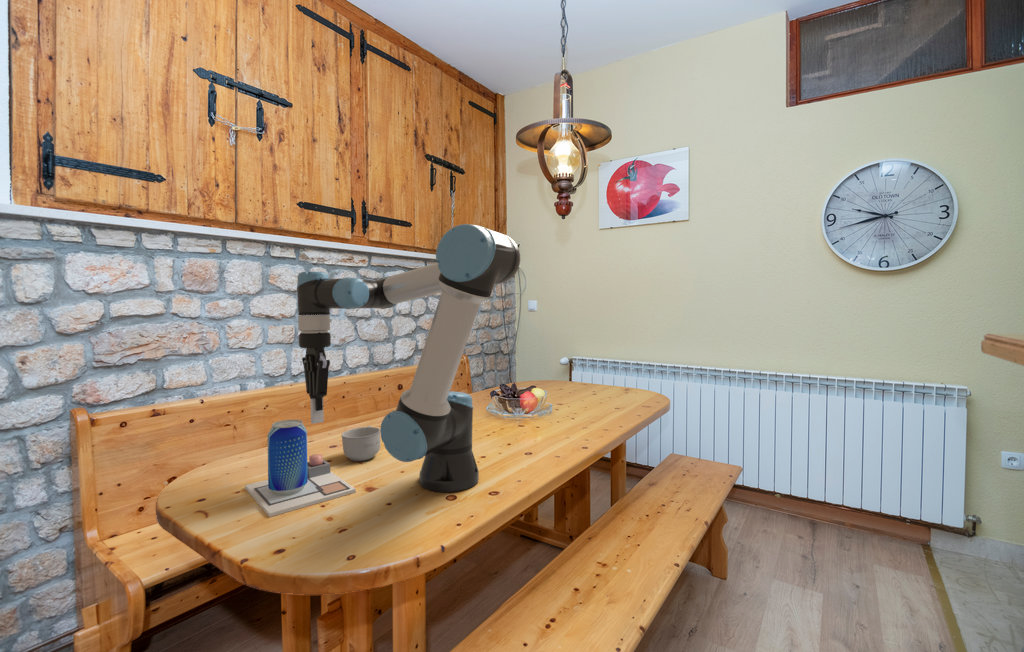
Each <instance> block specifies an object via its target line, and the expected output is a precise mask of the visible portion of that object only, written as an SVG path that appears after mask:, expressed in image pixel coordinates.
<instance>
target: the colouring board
mask: <svg viewBox="0 0 1024 652" xmlns="http://www.w3.org/2000/svg"><path fill="white" fill-rule="evenodd" d="M307 472H308V482H307V484H306V485H305V486H304V488H303V489H302V490H301V491H299V492H297V493H294V494H290V495H275V494H273V493H272V491H271V490H270V489H269V488H268V479H266V480H265V479H264V480H261V481H256V482H252V483H249V484H245V485H244V489H245V490H246V492H247V493H248V494H249V495H250V497H252V498H253V500H255V502H256V503H257V504H258V506H259V507H260V508H261V509H262V510H263V511H264V512H265V514H266V515H267V516H268V518H271V517H275V516H278V515H281V514H285V513H289V512H292V511H295V510H298V509H302V508H303V509H304V508H306V507H310V506H313V505H317V504H319V503H323V502H327V501H330V500H333V499H334V500H335V499H337V498H340V497H341V498H342V497H344V496H347V495H351V494H355V493H356V492H357V489H356V488H355V487H354V486H352V485H351V484H349V482H346V481H345V480H344V479H343V478H341V477H339V476H338V475H337V474H335V473H334V472H333V471H331V463H330V462H328V461H327V460H326V459H324V458H323V465H319V466H315V467H310V466H309V461H307Z"/></svg>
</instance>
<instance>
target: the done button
mask: <svg viewBox="0 0 1024 652" xmlns="http://www.w3.org/2000/svg"><path fill="white" fill-rule="evenodd" d="M308 459H309V460H308V462H309V466H310V467H315V466H319V465H323V459H324V457H323V454H321V453H317V454H316V453H315V454H311V455H309V457H308Z"/></svg>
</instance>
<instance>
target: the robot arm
mask: <svg viewBox="0 0 1024 652" xmlns="http://www.w3.org/2000/svg"><path fill="white" fill-rule="evenodd" d="M435 252H436V253H435V261H436V262H434V263H432V264H428V265H425V266H421V267H418V268H415V269H412V270H408V271H405V272H401V273H397V274H394V275H391V276H388V277H384V278H381V279H376V280H375V279H373V280H372V279H371V280H369V279H361V278H358V277H349V276H347V277H343V278H342V277H341V278H330V277H329V273H327V272H325V271H301V272H299V273H298V274H297V281H296V282H297V283H296V292H297V313H298V315H297V324H298V325H297V327H298V328H297V329H298V332H300V333H299V334H298V346H299V348H301V349H306V350H305V355H304V357H302V358H301V361H302V365H303V371H304V380H305V381H304V382H305V389H306V395H307V394H308V396H309V398H310V399H309V400H310V404H309V405H310V423H311V424H312V425H315V424H319V423H324V422H325V419H324V417H325V416H324V398H325V397H326V396H327V395H328V383H329V381H328V380H329V368H330V365H331V361H330V359H327V356H326V352H325V348H328V347H330V346H331V344H332V343H331V339H332V337H331V333H330V332H329V331H330V330H331V322H332V319H331V312H330V311H331V309H339V310H340V309H346V310H350V309H351V310H356V309H380V310H381V309H382V310H386V309H391V308H394V307H396V306H397V305H398V304H401V303H405V302H409V301H413V300H416V299H417V300H418V299H421V298H424V297H429V296H433V295H436V294H437V295H438V294H440V297H439V298H438V302H437V306H436V308H435V311H434V315H433V318H432V322H431V324H430V328H429V330H428V334H427V337H426V339H425V342H424V346H423V349H422V352H421V355H420V358H419V361H418V364H417V367H416V371H415V373H414V376H413V378H412V383H411V385H410V388H408V389H406V390H403V392H402V393H401V394H400V397H399V400H398V404H397V406H396V409H395V410H392V411H390V412H389V413H387V414H386V415H385V416H384V417H383V419H382V421H381V424H380V428H379V429H380V440H381V441H382V443H383V445H384V448H385V450H386V451H387V452H388V454H389V455H390V456H392V457H393V458H394V459H396V460H397V461H400V462H404V463H409V462H410V463H411V462H414V461H417V460H421V459H423V458H424V459H423V461H422V466H421V468H420V471H419V484H420V486H421V487H423V488H424V489H426V490H428V491H432V492H433V491H434V492H440V493H453V492H459V491H464V490H467V489H470V488H472V487H474V486H475V485H477V483H478V482H479V479H480V478H479V468H478V464H477V462H476V459H475V455H474V451H473V413H474V411H473V410H474V406H473V397H472V395H470V394H469V393H466V392H461V391H460V392H459V391H451V389H452V386H453V383H454V382H455V381H454V380H455V378H456V375H457V372H458V369H459V366H460V363H461V360H462V357H463V354H464V352H465V349H466V346H467V343H468V340H469V337H470V334H471V332H472V330H473V329H472V328H473V326H474V323H475V321H476V320H475V319H476V317H477V315H478V312H479V309H480V306H481V303H483V302H485V301H487V300H489V299H490V298H491V295H492V293H493V290H494V287H495V285H498V284H499V285H500V284H503V283H505V282H507V281H509V280H511V279H512V278H513V277H514V276H515V275H516V273H517V272H518V269H519V267H520V264H521V254H520V249H519V247H518V245H517V243H516V242H515V240H514V239H512V238H511V237H510V236H508V235H507V234H504V233H501V232H498V231H495V230H493V229H489V228H486V227H484V226H482V225H478V224H470V223H469V224H468V223H464V224H462V223H461V224H458V225H456V226H453V227H452V228H450V229H448V231H446V232H445V233H444V234H443V236H441V238H440V240H439V242H438V245H437V247H436V251H435Z"/></svg>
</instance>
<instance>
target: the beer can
mask: <svg viewBox="0 0 1024 652" xmlns="http://www.w3.org/2000/svg"><path fill="white" fill-rule="evenodd" d="M303 423H304V422H303V420H301V419H284V420H278V421H276V422H272V424H271V427H270V430H269V431H268V432H267V480H268V488H269V489H270V490H271V491H272V493H273V494H275V495H290V494H294V493H297V492H299V491H301V490H302V489H303V488H304V486H305V485H306V484H307V482H308V472H307V462H308V430H307V428H306V427H305V425H304V424H303Z"/></svg>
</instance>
